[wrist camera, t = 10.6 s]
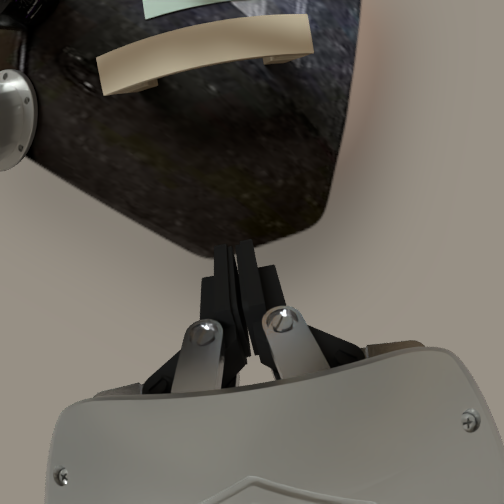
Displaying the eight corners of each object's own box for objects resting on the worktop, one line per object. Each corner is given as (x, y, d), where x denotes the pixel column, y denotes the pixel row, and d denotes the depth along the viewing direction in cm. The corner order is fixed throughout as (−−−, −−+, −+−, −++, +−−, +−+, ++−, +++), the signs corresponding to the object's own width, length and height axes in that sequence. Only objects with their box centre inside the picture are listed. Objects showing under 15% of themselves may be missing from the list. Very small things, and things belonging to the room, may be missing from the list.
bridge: (284, 62, 21) (313, 53, 14) (138, 91, 21) (103, 95, 14) (280, 35, 20) (307, 14, 12) (133, 64, 19) (96, 57, 12)
